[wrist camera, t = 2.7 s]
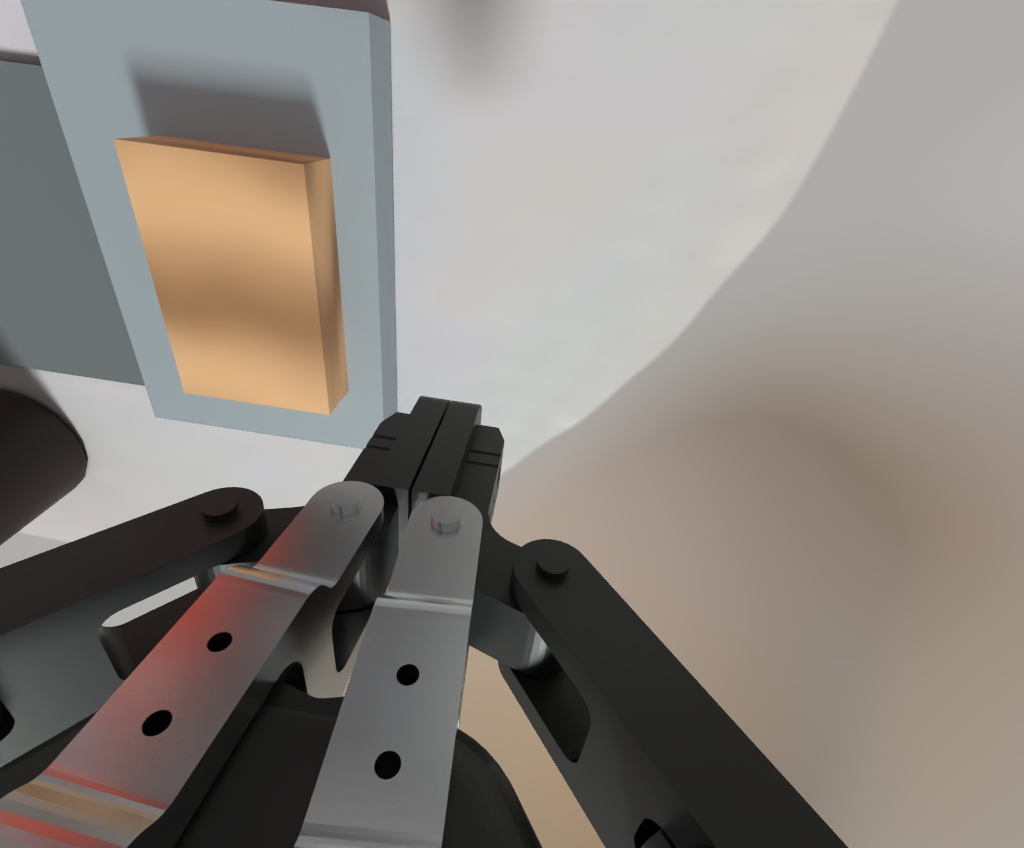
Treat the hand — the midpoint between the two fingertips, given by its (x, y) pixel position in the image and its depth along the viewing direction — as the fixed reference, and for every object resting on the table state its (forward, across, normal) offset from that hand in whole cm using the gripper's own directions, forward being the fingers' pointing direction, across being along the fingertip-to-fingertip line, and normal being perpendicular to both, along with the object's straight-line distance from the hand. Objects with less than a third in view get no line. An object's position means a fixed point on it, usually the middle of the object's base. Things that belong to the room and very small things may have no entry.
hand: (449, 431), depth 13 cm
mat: (+10, +20, 0) cm, 23 cm away
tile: (+7, +9, 0) cm, 11 cm away
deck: (+10, +10, -1) cm, 14 cm away
